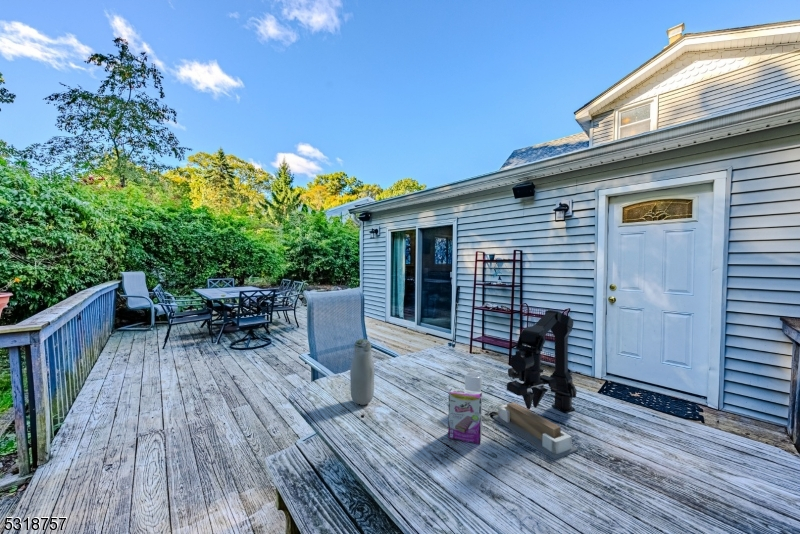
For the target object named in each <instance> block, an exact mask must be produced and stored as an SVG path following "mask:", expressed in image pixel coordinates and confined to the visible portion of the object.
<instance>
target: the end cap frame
mask: <svg viewBox="0 0 800 534" xmlns="http://www.w3.org/2000/svg"><path fill="white" fill-rule="evenodd" d="M507 404H508V403H506V404H502V405H498V406H497V414H496V415H493V416H492V418H493V419H494V420H496V421H497V422H498V423H500V424H501V425H503V426H504V427H506V428H507V429H509V431H511V432H513V433H514V434H516V435H517V436H519V437H520V438H522V439H523V440H525V441H526V442H528V443H529V444H530V445H532V446H533V447H535V448H537V449H538V450H540V452H543V453H544V454H546V455H547V456H548V457H549V458H551V459H553V460H559V459H560V458H564V457H566V456H567V455H569V456H570V454H573V453H574V454H575V453H576V452H579V448H578V447H575V446H574V445H573V444H572V443H573V436H572V435H570V434H568V433H566V432H564V431H563V430H561V437H558V438H555V439H554V438H552V437H551V436H549V435H547V434H546V433H544V434H543V438H542V440H540V439H539V438H537V437H535V436H534V435H532V434H530V433H529V432H527V431H525V430H524V429H522V428H520V427H519V426H517V425H515V424H514V423H512V422H510V411H508V410H507Z"/></svg>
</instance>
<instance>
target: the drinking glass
mask: <svg viewBox="0 0 800 534" xmlns="http://www.w3.org/2000/svg"><path fill="white" fill-rule="evenodd" d="M464 390H470V391H477V392H482V374H480V373H479V372H475V371H467V372H466V373H464Z"/></svg>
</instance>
